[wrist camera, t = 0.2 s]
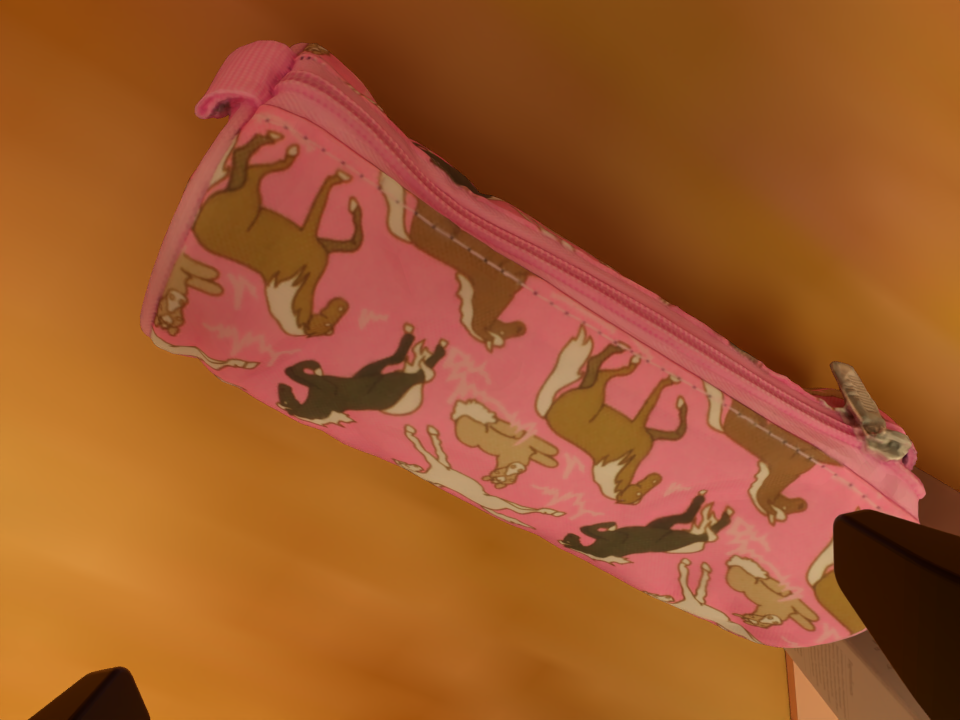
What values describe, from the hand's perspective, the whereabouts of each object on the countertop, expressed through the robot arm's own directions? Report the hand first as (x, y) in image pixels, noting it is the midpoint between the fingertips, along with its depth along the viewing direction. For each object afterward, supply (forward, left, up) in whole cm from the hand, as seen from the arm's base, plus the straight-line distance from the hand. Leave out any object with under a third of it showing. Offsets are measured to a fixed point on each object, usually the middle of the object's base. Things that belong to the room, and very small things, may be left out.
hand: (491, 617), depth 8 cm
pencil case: (-1, -2, -15) cm, 16 cm away
